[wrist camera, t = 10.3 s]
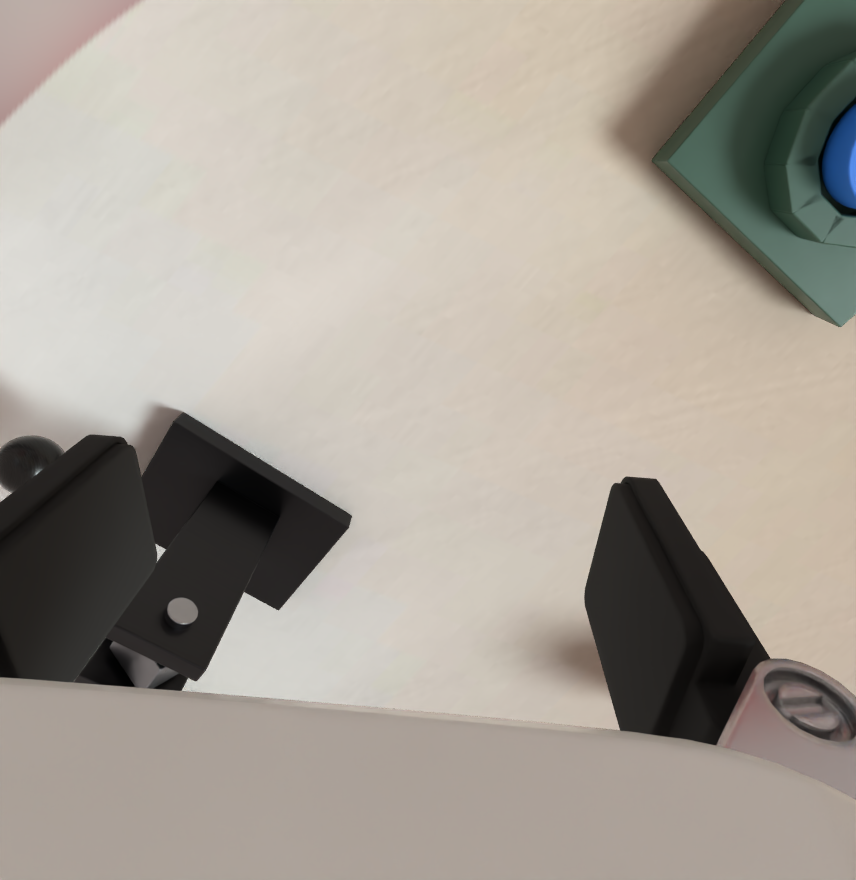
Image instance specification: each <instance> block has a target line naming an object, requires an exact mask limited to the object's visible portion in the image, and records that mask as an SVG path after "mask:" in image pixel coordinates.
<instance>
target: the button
mask: <svg viewBox="0 0 856 880" xmlns="http://www.w3.org/2000/svg"><path fill="white" fill-rule="evenodd" d="M822 176H823V181H824V184H825V187H826V189H827V190H828V192H829V194H830V195H831V196H832V198H833V199H835V200H836V201H837V202H838V203H840V204H842V205H843V206H846V207H849V208H853V209H856V104H854V105H853V106H852V107H851V108H850V109H849V110H848V111H847V112H846V113H845V114H844V116H843V117H842V118H841V119H840V120H839V122H838V123H837V125H836V126H835V128H834V129H833V131H832V133H831V135H830V137H829V139H828V141H827V144H826V147H825V150H824V154H823V159H822Z"/></svg>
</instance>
